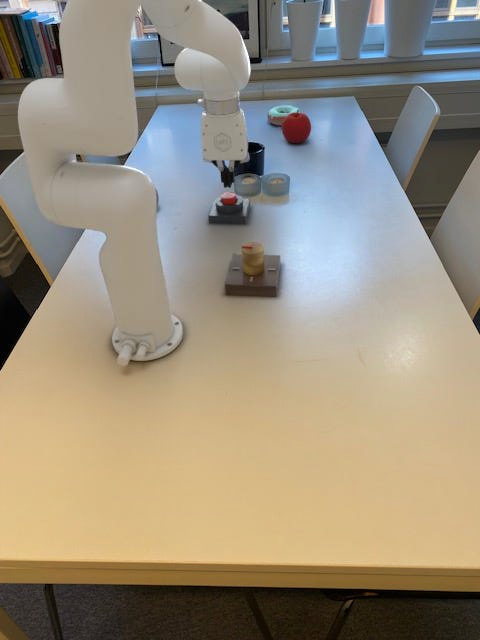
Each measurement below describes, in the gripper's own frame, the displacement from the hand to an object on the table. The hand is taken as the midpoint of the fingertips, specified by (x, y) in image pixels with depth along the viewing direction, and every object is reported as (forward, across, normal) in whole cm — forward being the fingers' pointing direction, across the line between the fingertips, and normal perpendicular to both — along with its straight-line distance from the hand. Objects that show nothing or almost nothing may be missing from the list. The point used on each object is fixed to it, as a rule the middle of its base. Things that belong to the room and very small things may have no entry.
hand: (228, 185), depth 117 cm
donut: (+9, +9, +69) cm, 70 cm away
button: (+4, 0, 0) cm, 4 cm away
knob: (+5, +9, -27) cm, 29 cm away
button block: (+8, 0, 0) cm, 8 cm away
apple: (+8, +14, +50) cm, 52 cm away
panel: (+8, +9, -27) cm, 30 cm away
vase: (+8, -22, +2) cm, 24 cm away
